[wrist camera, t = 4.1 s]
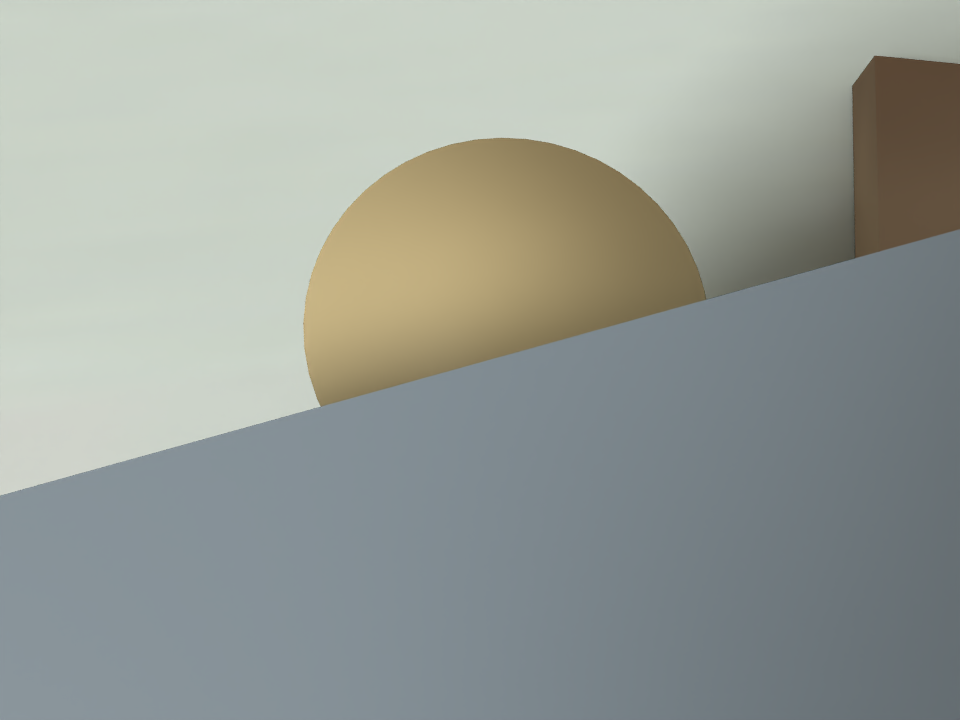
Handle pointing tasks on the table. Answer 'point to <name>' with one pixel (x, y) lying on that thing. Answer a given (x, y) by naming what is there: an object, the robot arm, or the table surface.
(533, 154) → the loose hinge leaf
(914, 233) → the hinge jig
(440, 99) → the table surface
